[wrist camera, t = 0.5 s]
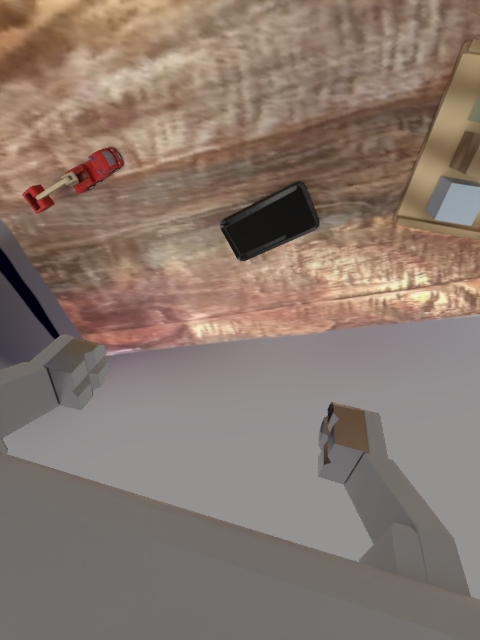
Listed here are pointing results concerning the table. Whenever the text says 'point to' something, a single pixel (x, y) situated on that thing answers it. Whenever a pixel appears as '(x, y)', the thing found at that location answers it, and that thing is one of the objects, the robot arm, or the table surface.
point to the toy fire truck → (77, 178)
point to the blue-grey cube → (455, 201)
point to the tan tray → (447, 149)
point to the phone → (271, 222)
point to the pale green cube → (475, 111)
